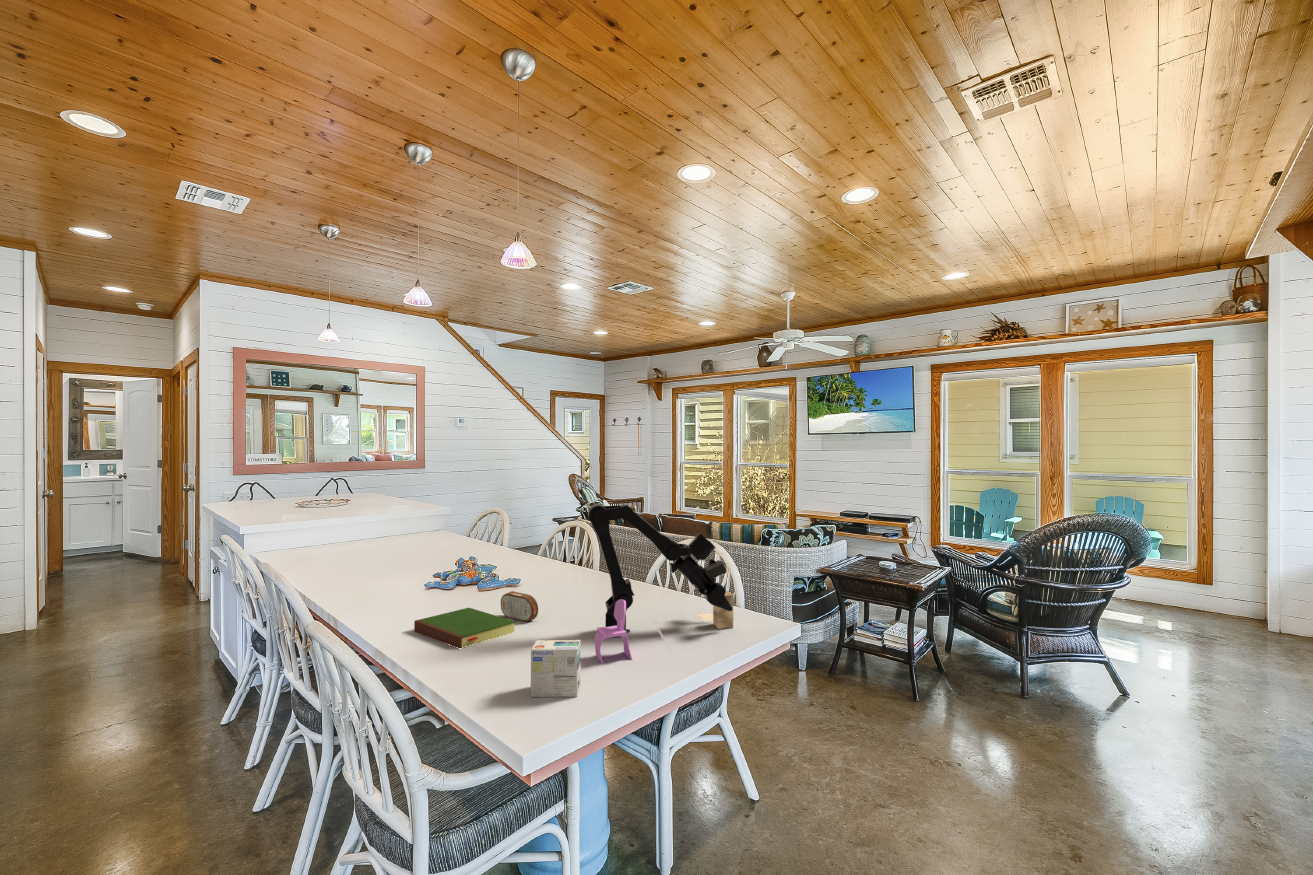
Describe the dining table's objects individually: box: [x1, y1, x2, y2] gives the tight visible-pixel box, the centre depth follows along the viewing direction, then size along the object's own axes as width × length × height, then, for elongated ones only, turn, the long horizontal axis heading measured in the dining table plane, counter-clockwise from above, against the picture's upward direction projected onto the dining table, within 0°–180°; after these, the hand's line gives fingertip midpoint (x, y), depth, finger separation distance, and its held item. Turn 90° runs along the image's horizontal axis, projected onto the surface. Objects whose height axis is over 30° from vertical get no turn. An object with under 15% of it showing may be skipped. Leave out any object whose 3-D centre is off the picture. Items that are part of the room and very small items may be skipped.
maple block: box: [712, 590, 734, 630], centre depth 176 cm, size 5×5×10 cm
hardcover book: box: [413, 607, 516, 649], centre depth 170 cm, size 25×19×4 cm
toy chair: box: [594, 599, 633, 665], centre depth 150 cm, size 8×9×15 cm
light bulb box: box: [530, 639, 581, 698], centre depth 129 cm, size 11×7×11 cm, turn 92°
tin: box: [500, 590, 539, 623], centre depth 184 cm, size 15×3×8 cm, turn 58°
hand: (727, 605), depth 176 cm, fingers open, 9 cm apart
